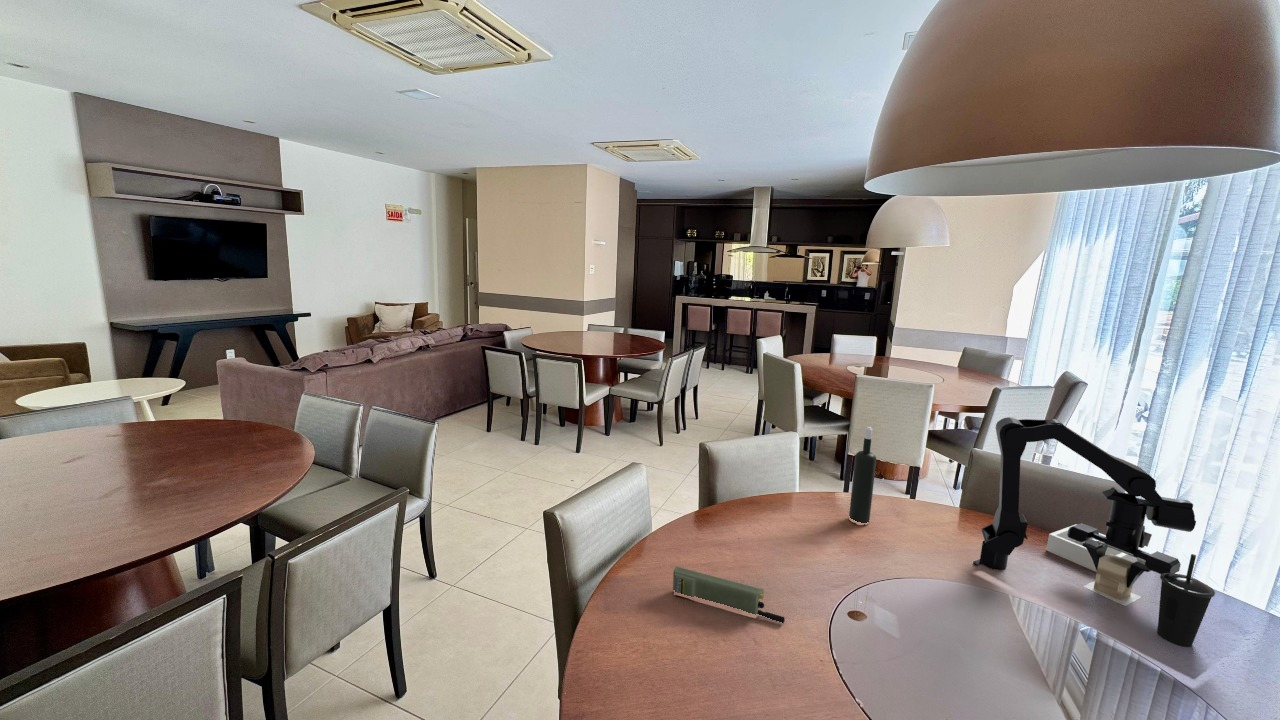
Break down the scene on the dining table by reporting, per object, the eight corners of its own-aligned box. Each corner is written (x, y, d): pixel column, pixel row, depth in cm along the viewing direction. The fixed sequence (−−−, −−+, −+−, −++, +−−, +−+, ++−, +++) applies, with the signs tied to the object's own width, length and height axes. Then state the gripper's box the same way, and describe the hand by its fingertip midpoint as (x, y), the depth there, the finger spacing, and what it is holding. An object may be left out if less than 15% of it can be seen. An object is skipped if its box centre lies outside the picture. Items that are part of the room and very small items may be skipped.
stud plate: (1124, 610, 116) (1128, 592, 115) (1081, 590, 123) (1085, 573, 122) (1140, 601, 119) (1144, 583, 118) (1098, 583, 126) (1102, 565, 125)
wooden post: (1120, 600, 117) (1126, 568, 116) (1093, 588, 122) (1099, 557, 120) (1130, 595, 119) (1136, 564, 118) (1104, 583, 124) (1110, 553, 123)
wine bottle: (851, 525, 152) (861, 429, 147) (846, 516, 158) (856, 423, 153) (871, 527, 151) (882, 430, 146) (866, 518, 157) (876, 425, 152)
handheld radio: (676, 589, 119) (785, 620, 109) (671, 597, 116) (782, 630, 106) (677, 564, 118) (787, 593, 108) (672, 571, 115) (785, 602, 105)
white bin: (1109, 582, 127) (1114, 560, 126) (1045, 554, 139) (1049, 533, 138) (1136, 569, 133) (1140, 548, 132) (1072, 543, 145) (1076, 524, 144)
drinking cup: (1207, 662, 100) (1229, 570, 97) (1154, 646, 104) (1174, 557, 101) (1192, 639, 107) (1212, 552, 103) (1142, 625, 111) (1161, 541, 107)
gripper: (1197, 531, 113) (1183, 595, 115) (1094, 497, 129) (1084, 554, 132) (1175, 541, 108) (1161, 607, 111) (1071, 505, 124) (1061, 563, 127)
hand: (1114, 580), depth 120 cm, fingers closed on wooden post, 5 cm apart
